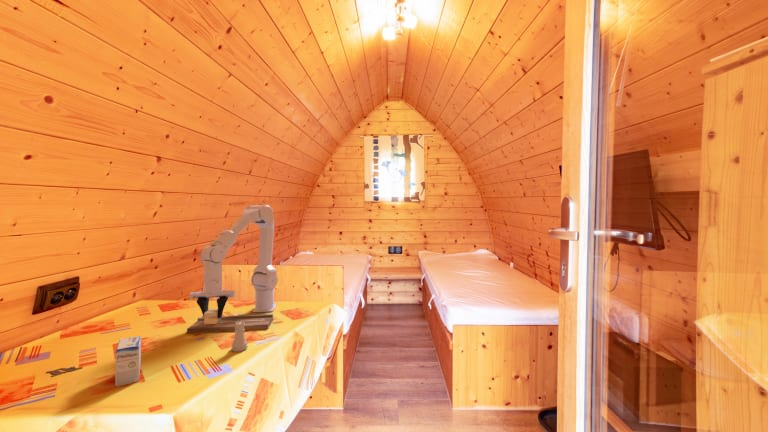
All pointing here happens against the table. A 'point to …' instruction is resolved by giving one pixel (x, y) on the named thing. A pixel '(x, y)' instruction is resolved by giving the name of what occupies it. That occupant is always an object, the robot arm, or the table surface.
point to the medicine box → (128, 361)
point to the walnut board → (232, 323)
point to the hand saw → (57, 372)
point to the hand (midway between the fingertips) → (212, 317)
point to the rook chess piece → (239, 337)
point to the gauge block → (211, 317)
